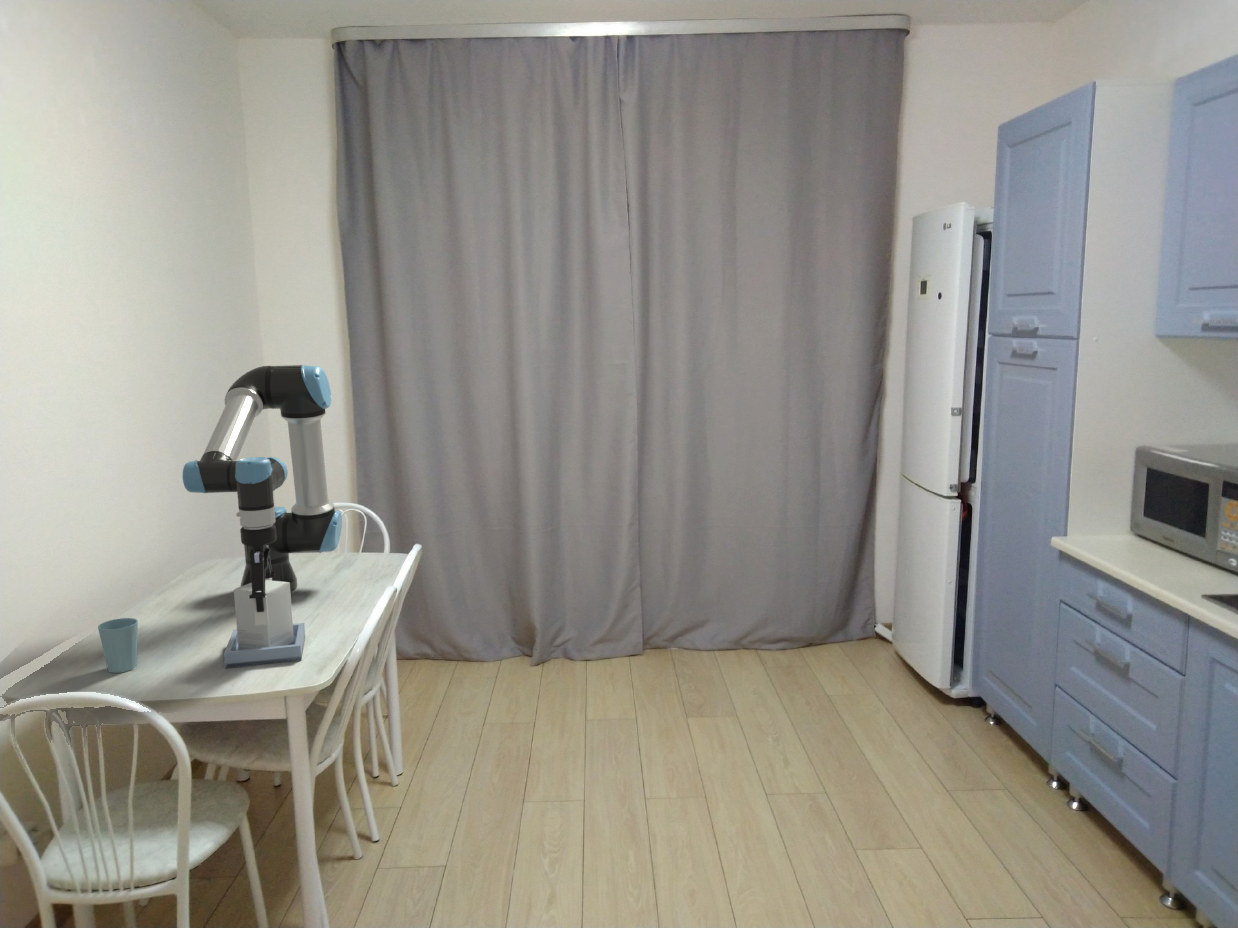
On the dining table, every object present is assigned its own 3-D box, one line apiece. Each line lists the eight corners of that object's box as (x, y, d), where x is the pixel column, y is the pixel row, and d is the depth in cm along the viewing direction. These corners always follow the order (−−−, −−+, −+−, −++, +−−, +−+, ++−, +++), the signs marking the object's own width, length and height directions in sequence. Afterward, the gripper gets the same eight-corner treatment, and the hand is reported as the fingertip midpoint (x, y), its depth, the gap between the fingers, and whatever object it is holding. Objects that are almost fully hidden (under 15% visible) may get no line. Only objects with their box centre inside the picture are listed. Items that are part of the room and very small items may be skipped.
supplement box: (295, 642, 207) (291, 581, 205) (269, 656, 199) (264, 592, 197) (264, 638, 210) (259, 578, 208) (237, 651, 202) (232, 588, 200)
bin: (234, 643, 210) (233, 629, 209) (305, 636, 214) (304, 622, 214) (225, 668, 195) (223, 653, 194) (301, 660, 199) (300, 645, 199)
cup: (99, 667, 196) (94, 622, 194) (137, 658, 200) (133, 615, 199) (106, 677, 190) (101, 632, 188) (145, 668, 195) (141, 624, 193)
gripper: (246, 514, 210) (253, 598, 214) (232, 540, 187) (240, 635, 191) (279, 512, 212) (286, 595, 216) (270, 538, 189) (277, 631, 193)
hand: (264, 614), depth 203 cm, fingers open, 13 cm apart
